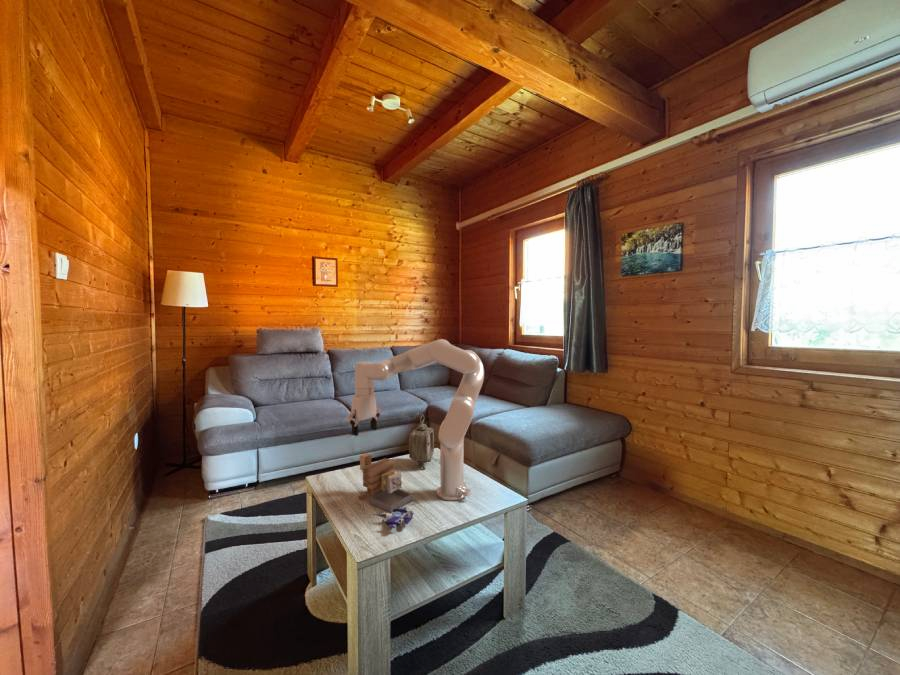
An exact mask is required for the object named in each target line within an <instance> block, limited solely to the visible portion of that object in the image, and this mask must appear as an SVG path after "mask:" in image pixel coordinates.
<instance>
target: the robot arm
mask: <svg viewBox="0 0 900 675" xmlns="http://www.w3.org/2000/svg"><path fill="white" fill-rule="evenodd" d="M436 363H438V364H440V365H443V366H445V367H446V368H450V369H452V370H454V371H456V372H459V373H461V374H462V378H461V381H460V383H459V386H458V388H457V391H456V393H455V395H454V397H453V398H452V400H451V402H450V404H449V408H448V410H447V413H446V416H445V418H444V419H443V421H442V422H441V424H440V426H439V431H438V437H437V438H438V441H439V443H440V450H439V451H440V454H439V455H440V456H439V457H440V459H439V460H440V461H439V462H440V464H439V465H440V470H439V471H440V472H439V474H440V475H439V478H440V480H439V481H440V483H439V484H440V486H439V487H437V489H436V495H437V497H438V498H440V499H442V500H445V501H460V500H462V499H464V498H465V497H468V498H469V497H470V496H471V491H472V490H471V489H470V488H468V487H467V486H466V485H467V483H465V481H464V453H465V452H464V446H465V445H464V442H465V441H464V440H465V436H466V433H467V431H468V429H469V427H470V424H471V422H472V420H473V417H474V413H475V404H476V401H477V399H478V397H479V395H480V391H481V388H482V387H483V383H484V379H485V368H484V364H483V362H482V360H481V358H480V356H478V354H477V353H476V352H474V351H473V350H470V349H462V348H460V347H458V346H455V345H453V344H452V343H450V342H449V341H448V340H447V339H443V338H440V339H436V340H433V341H430V342H427V343H425V344H423V345H419V346H417V347H413V348H411V349H409V350H407V351H405V352H402V353H401V354H398V355H397V354H396V355H395V356H392V357H389V358H385V359H384V360H381V361H378V362H372V361H369V360H368V361H358V362H355V364H354V395H353V397H352V401H351V410H350V411H351V412H350V413H349V414H348V415H346V420H347V422H348V423H349V425H350V426H351V435H352V436H355V437H358V436H359V426H358V425H359V423H360V421H364V420H368V419H369V420H370V430H373V431H376V430H378V425H377V424H378V423H377V421H378V420H379V417H380V416H381V415H380V414H381V412H382V408H380V407H379V406H377V399H376V396H375V395H376V394H375V392H374V391H375V390H376V387H375V386H374V385H375V384H374V382H375V381H379V382H382V381H385V380H387V379H389V378H390V377H392V376H395V375H397V374H400V373H404V372H406V371H409V370H414V371H415V370H418V369H419V370H420V369H421V368H424V367H425V368H426V367H427V366H430V365H433V364H436Z"/></svg>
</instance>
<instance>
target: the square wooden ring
mask: <svg viewBox="0 0 900 675" xmlns="http://www.w3.org/2000/svg"><path fill="white" fill-rule="evenodd" d="M394 479H399V480H401V481H402V472H400V471H397V472H395V474H393V475H391V476H389V477H387V482H388V493H392V492H394V491H396V490H398V489H402V484H401V485H400V486H399V485H396V484H395V485H394V486H393V480H394Z"/></svg>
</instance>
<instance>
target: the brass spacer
mask: <svg viewBox="0 0 900 675" xmlns="http://www.w3.org/2000/svg"><path fill="white" fill-rule="evenodd" d="M395 473H396V470H395V469H394V470H391V471H388V472H386V473H384V474H382V475H381V490H383V491H385V490H387V489H388V483H387V484H386V478H387V477H389V476H391V475H393V474H395ZM394 485H396V484H393V486H394Z"/></svg>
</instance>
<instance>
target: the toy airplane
mask: <svg viewBox="0 0 900 675" xmlns="http://www.w3.org/2000/svg"><path fill="white" fill-rule="evenodd" d="M371 515H373V516H378V517H381V518H383V519H382V520H381V523H382V524H385V525H386V526H389V528H392V529H395V528H396V527H400V528H401V529H403V528H404V525H403V524H405V525H408V524H410V522H411V520H413V517H414V516H413V515H414V512H413V511H412V510H407V507H406V506H403V507H401V508H399V509H394V510H393V512H392V513H388V512H386V511H383V512H381V513H377V514H375V513H371ZM385 519H388V520H387V521H385Z"/></svg>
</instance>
